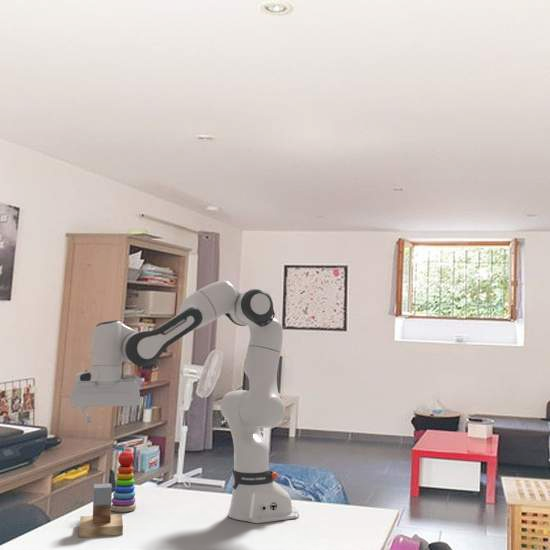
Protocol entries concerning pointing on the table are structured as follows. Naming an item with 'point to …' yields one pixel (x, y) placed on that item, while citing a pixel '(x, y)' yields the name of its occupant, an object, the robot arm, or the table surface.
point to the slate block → (102, 494)
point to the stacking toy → (124, 485)
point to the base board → (100, 526)
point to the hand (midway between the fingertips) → (104, 421)
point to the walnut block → (101, 514)
